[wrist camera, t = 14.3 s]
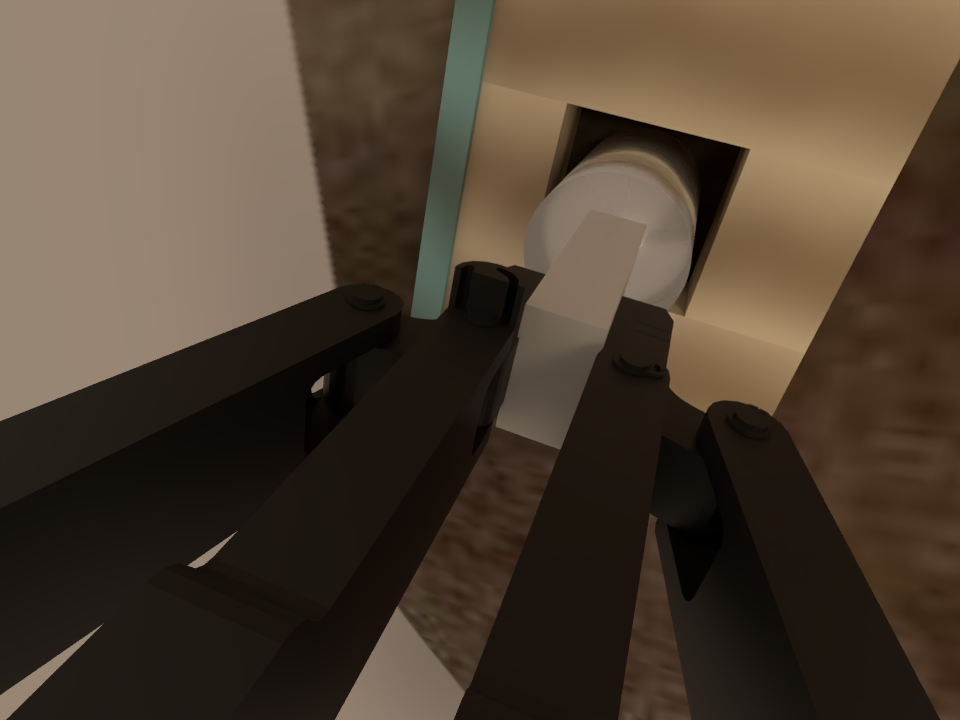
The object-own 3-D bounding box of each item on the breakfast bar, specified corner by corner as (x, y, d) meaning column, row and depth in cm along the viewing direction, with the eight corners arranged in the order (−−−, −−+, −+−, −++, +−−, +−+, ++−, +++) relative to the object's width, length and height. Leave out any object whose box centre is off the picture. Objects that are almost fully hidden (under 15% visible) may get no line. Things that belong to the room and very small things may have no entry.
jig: (509, -98, 22) (471, -117, 18) (956, -11, 19) (1002, -16, 16) (439, 318, 30) (405, 354, 27) (743, 418, 27) (745, 471, 24)
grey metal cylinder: (598, 111, 24) (549, 149, 17) (721, 149, 23) (720, 205, 16) (562, 227, 26) (505, 301, 19) (672, 265, 25) (653, 355, 19)
